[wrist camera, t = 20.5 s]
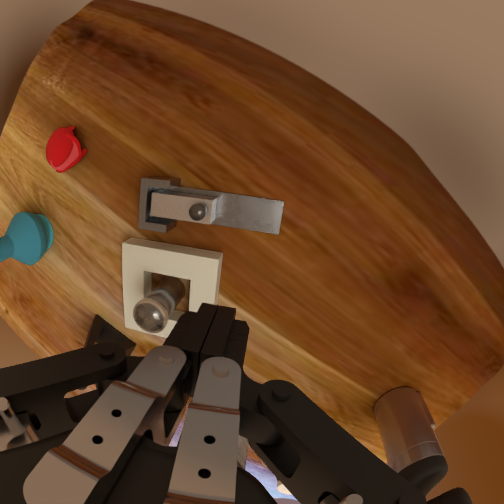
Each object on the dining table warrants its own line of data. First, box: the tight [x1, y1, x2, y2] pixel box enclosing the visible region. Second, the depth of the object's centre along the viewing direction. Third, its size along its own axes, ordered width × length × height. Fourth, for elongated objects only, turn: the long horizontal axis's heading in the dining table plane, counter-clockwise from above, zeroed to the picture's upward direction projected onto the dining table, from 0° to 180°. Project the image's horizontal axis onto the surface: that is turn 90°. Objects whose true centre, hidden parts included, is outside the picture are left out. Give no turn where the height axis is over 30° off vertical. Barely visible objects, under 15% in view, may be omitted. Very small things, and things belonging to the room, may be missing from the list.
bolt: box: [150, 190, 218, 224], centre depth 36 cm, size 8×3×4 cm, turn 82°
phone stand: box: [79, 315, 136, 390], centre depth 42 cm, size 9×6×12 cm, turn 54°
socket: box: [122, 237, 223, 338], centre depth 41 cm, size 14×14×3 cm
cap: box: [46, 126, 87, 173], centre depth 35 cm, size 8×6×6 cm
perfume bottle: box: [0, 212, 53, 265], centre depth 35 cm, size 9×9×15 cm
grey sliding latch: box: [138, 176, 284, 235], centre depth 37 cm, size 18×7×4 cm, turn 82°
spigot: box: [133, 277, 185, 333], centre depth 38 cm, size 5×5×9 cm
